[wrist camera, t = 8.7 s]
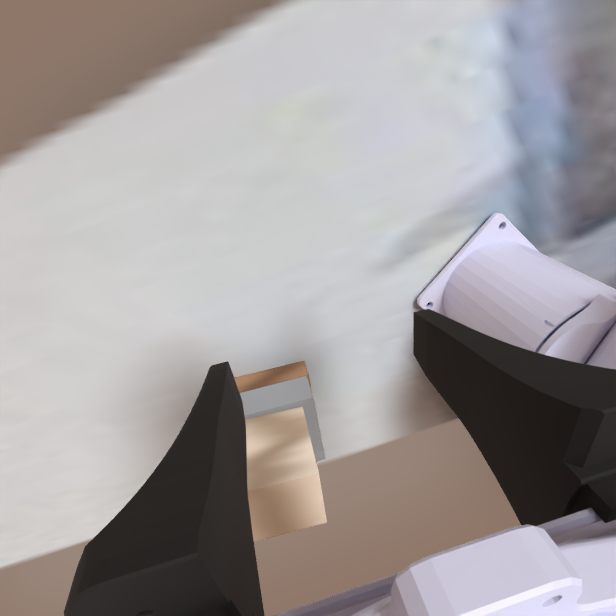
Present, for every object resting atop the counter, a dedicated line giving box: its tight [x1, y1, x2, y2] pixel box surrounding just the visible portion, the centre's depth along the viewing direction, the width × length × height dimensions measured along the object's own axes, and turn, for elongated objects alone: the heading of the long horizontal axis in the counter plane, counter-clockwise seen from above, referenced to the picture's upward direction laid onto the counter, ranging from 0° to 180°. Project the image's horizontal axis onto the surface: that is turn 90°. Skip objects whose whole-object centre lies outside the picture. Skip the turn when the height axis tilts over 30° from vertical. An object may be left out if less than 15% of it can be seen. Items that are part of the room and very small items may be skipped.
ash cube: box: [245, 406, 327, 542], centre depth 23 cm, size 5×5×5 cm
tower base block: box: [234, 361, 312, 393], centre depth 28 cm, size 6×6×2 cm
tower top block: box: [240, 376, 325, 461], centre depth 26 cm, size 6×6×2 cm
